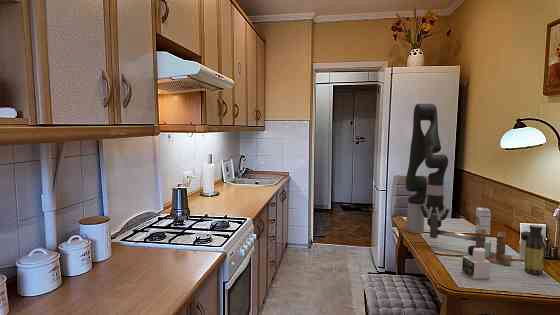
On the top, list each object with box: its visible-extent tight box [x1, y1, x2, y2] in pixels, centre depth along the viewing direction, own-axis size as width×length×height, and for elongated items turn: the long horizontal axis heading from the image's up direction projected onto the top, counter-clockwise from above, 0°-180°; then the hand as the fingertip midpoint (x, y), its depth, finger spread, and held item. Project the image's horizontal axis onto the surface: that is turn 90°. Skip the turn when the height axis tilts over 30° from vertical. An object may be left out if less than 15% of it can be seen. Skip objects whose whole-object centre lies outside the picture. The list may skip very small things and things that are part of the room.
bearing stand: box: [475, 229, 512, 267], centre depth 150 cm, size 16×12×12 cm
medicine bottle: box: [461, 244, 491, 280], centre depth 132 cm, size 7×7×12 cm
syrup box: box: [475, 207, 491, 236], centre depth 186 cm, size 6×6×14 cm
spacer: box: [484, 237, 492, 258], centre depth 151 cm, size 2×7×7 cm, turn 142°
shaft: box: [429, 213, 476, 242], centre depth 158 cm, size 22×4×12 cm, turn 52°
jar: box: [519, 231, 544, 262], centre depth 148 cm, size 9×8×12 cm
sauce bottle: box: [524, 224, 545, 275], centre depth 134 cm, size 6×6×20 cm
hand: (434, 226), depth 164 cm, fingers open, 3 cm apart
